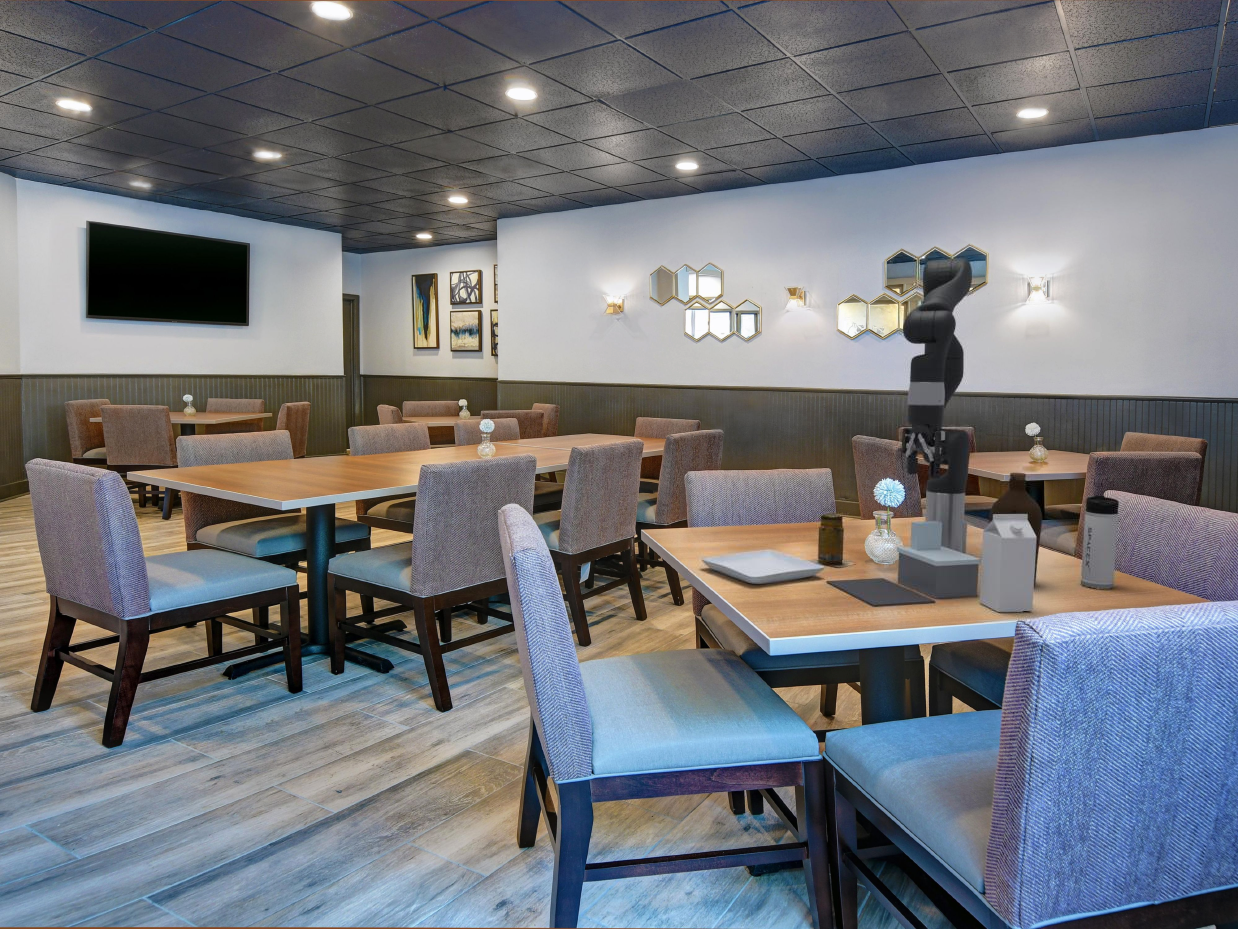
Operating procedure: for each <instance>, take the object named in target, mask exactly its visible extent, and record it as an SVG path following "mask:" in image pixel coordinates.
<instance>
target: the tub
mask: <svg viewBox="0 0 1238 929" xmlns="http://www.w3.org/2000/svg"><path fill="white" fill-rule="evenodd" d="M979 567H980V564H967V565H947V566H935V565H932V564H929V563H927V562H924V561H921V560H918V559H916V558H913V557H910V556H907V555H905V554H902V553H899V552H898V567H897V583H898V584H899V585H900V584H901V585H902V586H905V587H906V588H907V587H908V588H909V589H913V591H914V590H915V591H916V592H918V593H920V594H922V595H923V594H924V595H925V596H928V597H931V598H933V599H935V600H936V599H949V598H950V599H951V598H964V597H965V598H969V597H977V596H978V585H979V584H978V583H979V582H978V581H979Z"/></svg>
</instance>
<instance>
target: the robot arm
mask: <svg viewBox="0 0 1238 929" xmlns="http://www.w3.org/2000/svg"><path fill="white" fill-rule="evenodd" d="M972 269H973V268H972V265H971V263H970V261H969V260H968V259H966V258H964V257H963V258H961V257H959V258H946V259H935V260H930V261H929V260H928V261H927V262H926V263H925V264H924V267H923V270H922V271H923V272H922V293H923V300H922V301H921V304H919V305H918V306H916V307H915V308H913V309H912V310H911V311H909V313H908V314H907V315H906V318H905V319H904V321H903V326H902V332H903V336H904V338H905V339H906V341H907V342H909V343H911V344H915V345H921V344H924V353H923V354H919V355H915V356H913V357H912V358H911V360H910V372H909V373H910V374H909V376H910V377H909V386H908V393H907V415H906V416H907V418H906V422H907V424H908V425H912V426H911V427H903V429H902V438H901V450H900V453H901V454H902V455H903V454H904V455H905V457H906V458H907V460H906V461H907V462H906V463H907V464H906V473H907V475H917V474H918V467H919V464H918V463H919V458H918V456H919V454H920V452H921V454H922V455H921V456H922V457H923V460H924V461H925V463H926V464H929V465H928V478H929V479H928V480H927V483H926V492H925V494H926V497H925V499H926V500H925V519H924V520H925V521H937V522H941V523H942V536H941V546H942V547H945V548H948V549H951V550H954V551H958V552H961V553H964V554H967V536H968V535H967V532H968V522H966V521H965V506H966V505H965V504H966V488H967V487H966V486H967V482H968V477H969V463H970V457H971V456H970V455H971V438H970V434H969V433H968V432H967V431H966V430H964V429H959V428H958V429H956V428H942V425H943V424H944V422H945V421H944V420H945V419H944V417H945V416H944V415H945V409H946V407H947V405H948V403H949V401H950V400H951V399H952V397H953V395H954V394H955V392H956V391H957V389H958V388H959V386H960V384H961V383H962V380H963V378H964V368H965V367H964V360H965V359H964V358H965V356H964V355H965V354H964V353H965V352H964V348H963V345H962V344H961V342H960V341H959V339H958V338H957V336H956V334H955V331H956V327H957V322H956V318H955V316H954V315H953V313H954V310H955V308H956V307H957V305H959V303H960V302H961V301H963V299H964V298H965V297H966V296H967V295H968V294H969V292H970V290H971V287H972V282H973V270H972ZM941 466H947V470H946V472H945V473H944V474H942V475H941Z"/></svg>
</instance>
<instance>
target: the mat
mask: <svg viewBox="0 0 1238 929" xmlns="http://www.w3.org/2000/svg"><path fill="white" fill-rule="evenodd" d="M826 584H828V585H830V586H832V587H833V588H834V587H835V588H836V589H839V590H840V591H842V592H844V593H846V594H848V595H850V596H851V597H854V598H856V599H858V600H859V601H861V602H864V603H866V604H868V605H870V606H871V607H874V608H876V607H892V606H905V605H906V606H907V605H922V604H923V605H924V604H925V605H926V604H935V603H936V600H934V599H932V598H929V597H927V596H926V595H923V594H922V593H919V592H917V591H916V592H915V591H914V590H911V589H910V588H907V587H906V586H905V587H904V586H903V585H900V584H899V583H898V584H897V583H895V582H893V581H890V580H888V579H886V578H884V577H877V578H858V579H856V578H855V579H841V580H840V579H839V580H836V579H835V580H827V581H826Z"/></svg>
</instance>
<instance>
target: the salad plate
mask: <svg viewBox="0 0 1238 929" xmlns="http://www.w3.org/2000/svg"><path fill="white" fill-rule="evenodd" d="M700 559H701V561H702V562H703V564H704V565H706V566H707V567H708V568H710V569H712V570H713V571H716V572H719V573H721V574H724V575H725V576H728V577H732V578H735V579H737V580H739V581H743V582H745V583H748V584H752V585H765V584H774V583H779V582H780V583H781V582H789V581H794V580H800V579H805V578H810V577H812V576H816V575H818V574H819V573H821V572H823V571H824V569H825V568H826V567H825V565H822V564H818V563H814V562H810V561H809V560H806V559H803V558H800V557H797V556H794V555H791V554H787V553H784V552H780V551H776V550H775V549H773V550H772V549H763V550H754V551H744V552H736V553H729V554H723V555H716V556H710V557H709V556H708V557H701V558H700Z"/></svg>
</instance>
